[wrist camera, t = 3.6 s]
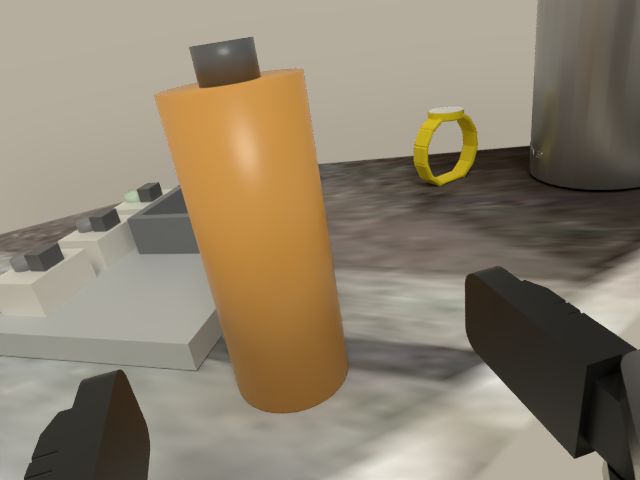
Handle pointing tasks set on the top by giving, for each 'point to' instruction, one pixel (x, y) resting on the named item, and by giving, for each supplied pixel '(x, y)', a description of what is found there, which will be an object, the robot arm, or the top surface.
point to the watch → (425, 137)
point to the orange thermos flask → (259, 223)
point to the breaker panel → (114, 290)
